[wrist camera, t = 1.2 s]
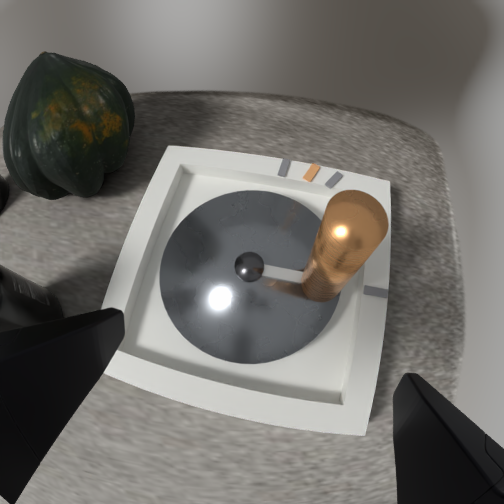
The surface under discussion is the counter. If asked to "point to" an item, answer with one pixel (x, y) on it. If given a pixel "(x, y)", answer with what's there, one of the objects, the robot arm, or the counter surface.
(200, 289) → the dial
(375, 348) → the dial housing
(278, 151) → the counter surface
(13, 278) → the supplement bottle
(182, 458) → the counter surface
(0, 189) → the supplement bottle
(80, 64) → the squash
